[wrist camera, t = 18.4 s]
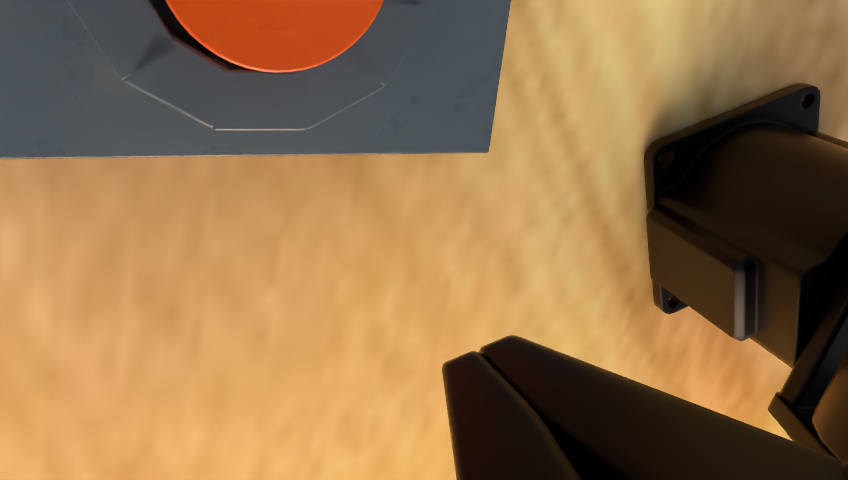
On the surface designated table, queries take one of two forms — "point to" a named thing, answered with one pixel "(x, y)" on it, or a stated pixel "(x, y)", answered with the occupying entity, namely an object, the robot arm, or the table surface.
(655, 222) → the robot arm
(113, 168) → the table surface
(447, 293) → the table surface
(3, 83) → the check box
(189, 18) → the button
